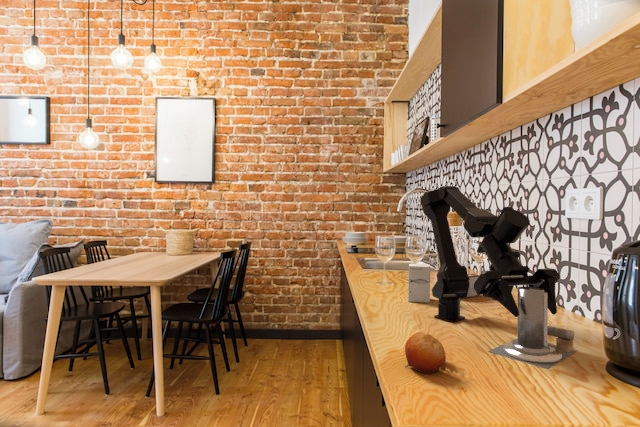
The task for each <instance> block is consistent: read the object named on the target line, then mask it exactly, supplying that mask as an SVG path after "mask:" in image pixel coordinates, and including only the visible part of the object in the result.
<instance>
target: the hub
mask: <svg viewBox="0 0 640 427" xmlns="http://www.w3.org/2000/svg"><path fill="white" fill-rule="evenodd" d="M517 308H518V311H519V316H518V317H517V338H518V340H515V339H514V340H515V341H513V340H512V341H513V349H514V350H516V351H518V352H520V353H524V354H528V355H535V356H545V355H548V354H550V347H549V346H548V345H547V343H548V335H547V326H548V308H547V292H544V289H541V288H536V287H529V286H518V287H517Z"/></svg>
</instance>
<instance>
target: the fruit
mask: <svg viewBox="0 0 640 427" xmlns="http://www.w3.org/2000/svg"><path fill="white" fill-rule="evenodd" d="M404 345H405V346H404V353H405V358H406V362H407V365H405V366H404V368H405V369H406V368H408V367H411V368H412V369H414V370H416V371H418V372H421V373H425V374H427V375H429V374H432V373H434V372H436V371H437V370H439V369H440V368H441V367H442V366H443V365H444V364H445V362H446V360H447V357H446V351H445V348H444V346H443V344H442V343H441V341H440V340H439V339H437V338H436V337H435V336H433V335H432V334H429V333H425V332H421V331H417V332H415V333H413V334H412V335H411V336H410V337H409V338H408V339H407V340H406V342H405V344H404Z"/></svg>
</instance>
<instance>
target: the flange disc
mask: <svg viewBox="0 0 640 427" xmlns="http://www.w3.org/2000/svg"><path fill="white" fill-rule="evenodd" d="M502 345H503V351H504V353H506V354H507V355H509V356H510V357H513V358H515V359H518V360H522V361H526V362H531V363H539V364H554V363H557V364H559V363H561V362H562V361H563V360H562V353H561V352H560V351H558V350H557V349H555V348H552V347H550V346H549V347H550V354H548V355H545V356H535V355H528V354H524V353H520V352H518V351H516V350H514V349H513V342H510V341H507V342H505V343H504V344H502ZM518 360H517V361H518ZM561 360H562V361H561ZM560 361H561V362H560ZM558 362H559V363H558Z"/></svg>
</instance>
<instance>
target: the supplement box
mask: <svg viewBox="0 0 640 427" xmlns="http://www.w3.org/2000/svg"><path fill="white" fill-rule="evenodd" d="M407 287H408V289H407V291H408V297H407V298H408V300H407V302H415V303H425V304H426V303H427V304H430V299H431V264H430V263H409V264H408V286H407Z"/></svg>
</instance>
